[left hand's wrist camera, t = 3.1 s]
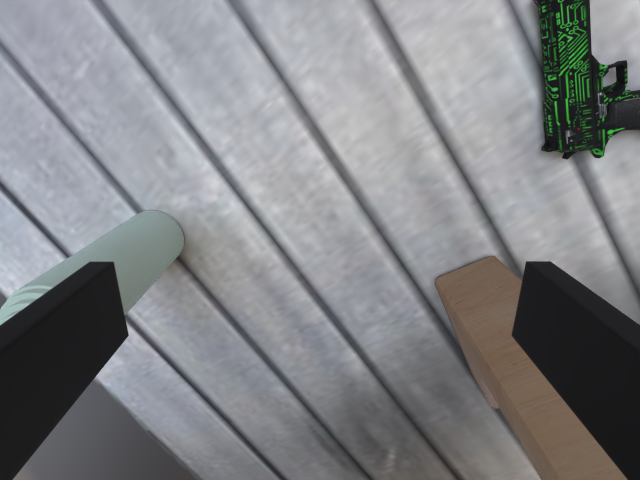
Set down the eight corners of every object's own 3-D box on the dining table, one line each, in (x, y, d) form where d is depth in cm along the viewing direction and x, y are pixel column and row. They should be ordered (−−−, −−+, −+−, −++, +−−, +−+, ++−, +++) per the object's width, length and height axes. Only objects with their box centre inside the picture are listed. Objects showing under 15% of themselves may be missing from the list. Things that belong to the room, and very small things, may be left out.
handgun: (697, 143, 38) (543, 172, 38) (670, 140, 40) (526, 167, 41) (722, -53, 32) (543, -16, 33) (689, -40, 35) (524, -6, 36)
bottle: (155, 272, 45) (-7, 446, 23) (115, 231, 44) (-104, 374, 21) (196, 242, 44) (66, 395, 22) (156, 198, 42) (-31, 314, 20)
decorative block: (470, 372, 50) (664, 723, 22) (431, 277, 45) (613, 569, 17) (527, 351, 49) (808, 693, 21) (493, 251, 44) (795, 519, 16)
